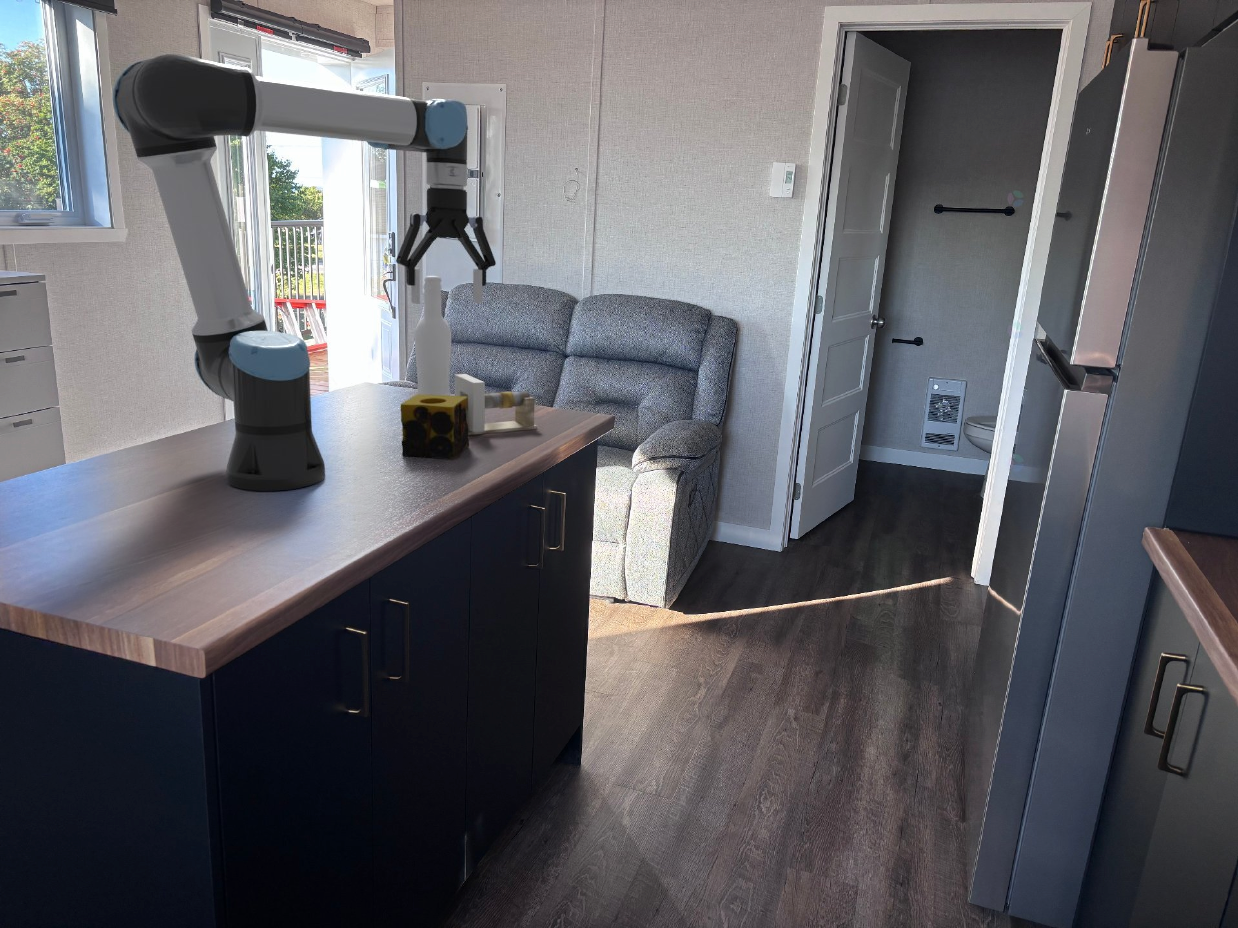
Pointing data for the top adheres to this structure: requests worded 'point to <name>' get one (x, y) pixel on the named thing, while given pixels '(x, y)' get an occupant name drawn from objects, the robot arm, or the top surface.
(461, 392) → the upright white plank
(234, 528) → the top surface
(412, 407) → the yellow cube with hole
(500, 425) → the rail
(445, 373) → the bottle
